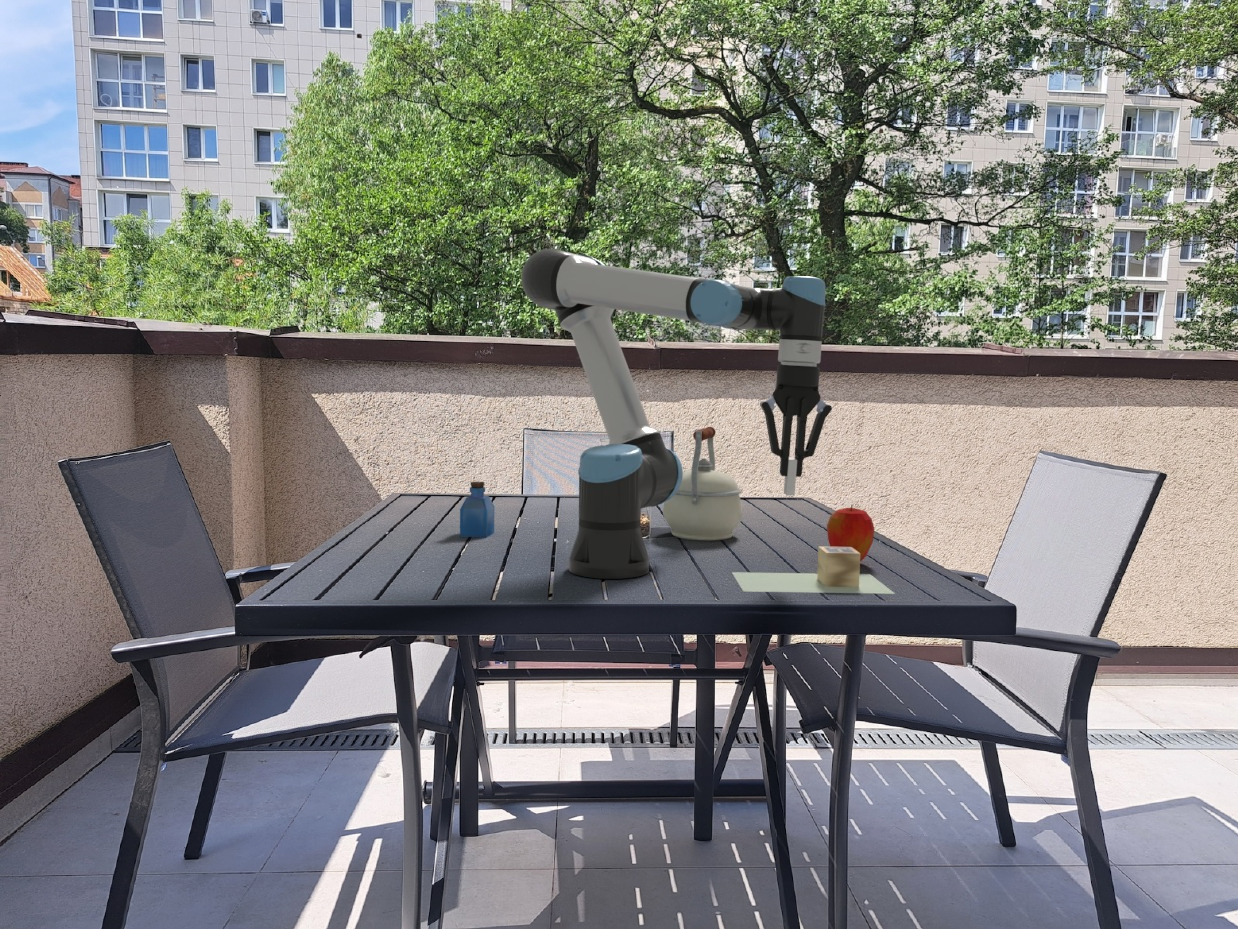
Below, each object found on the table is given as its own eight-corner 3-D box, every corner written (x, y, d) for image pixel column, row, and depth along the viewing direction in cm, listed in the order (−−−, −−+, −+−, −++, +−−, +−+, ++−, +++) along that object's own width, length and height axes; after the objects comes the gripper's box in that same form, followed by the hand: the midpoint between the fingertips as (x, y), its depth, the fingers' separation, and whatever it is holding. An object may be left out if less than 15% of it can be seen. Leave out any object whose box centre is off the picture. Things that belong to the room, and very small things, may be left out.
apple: (822, 558, 187) (824, 500, 185) (867, 559, 186) (869, 501, 185) (829, 567, 177) (832, 506, 176) (876, 569, 177) (879, 508, 175)
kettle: (733, 546, 198) (737, 432, 195) (652, 540, 203) (654, 429, 200) (750, 528, 222) (753, 426, 219) (676, 523, 227) (679, 423, 224)
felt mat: (743, 593, 155) (743, 591, 155) (731, 574, 170) (731, 572, 170) (895, 596, 155) (895, 593, 155) (870, 576, 170) (870, 574, 170)
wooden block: (860, 553, 159) (858, 587, 160) (851, 546, 165) (850, 579, 166) (826, 552, 159) (824, 586, 160) (818, 546, 165) (817, 578, 166)
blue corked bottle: (468, 531, 210) (468, 480, 209) (494, 532, 209) (494, 481, 208) (460, 536, 204) (460, 483, 203) (486, 537, 203) (486, 484, 202)
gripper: (765, 362, 159) (756, 495, 162) (839, 366, 160) (829, 499, 162) (759, 362, 167) (750, 489, 170) (830, 366, 167) (820, 492, 170)
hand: (789, 494), depth 166 cm, fingers closed
